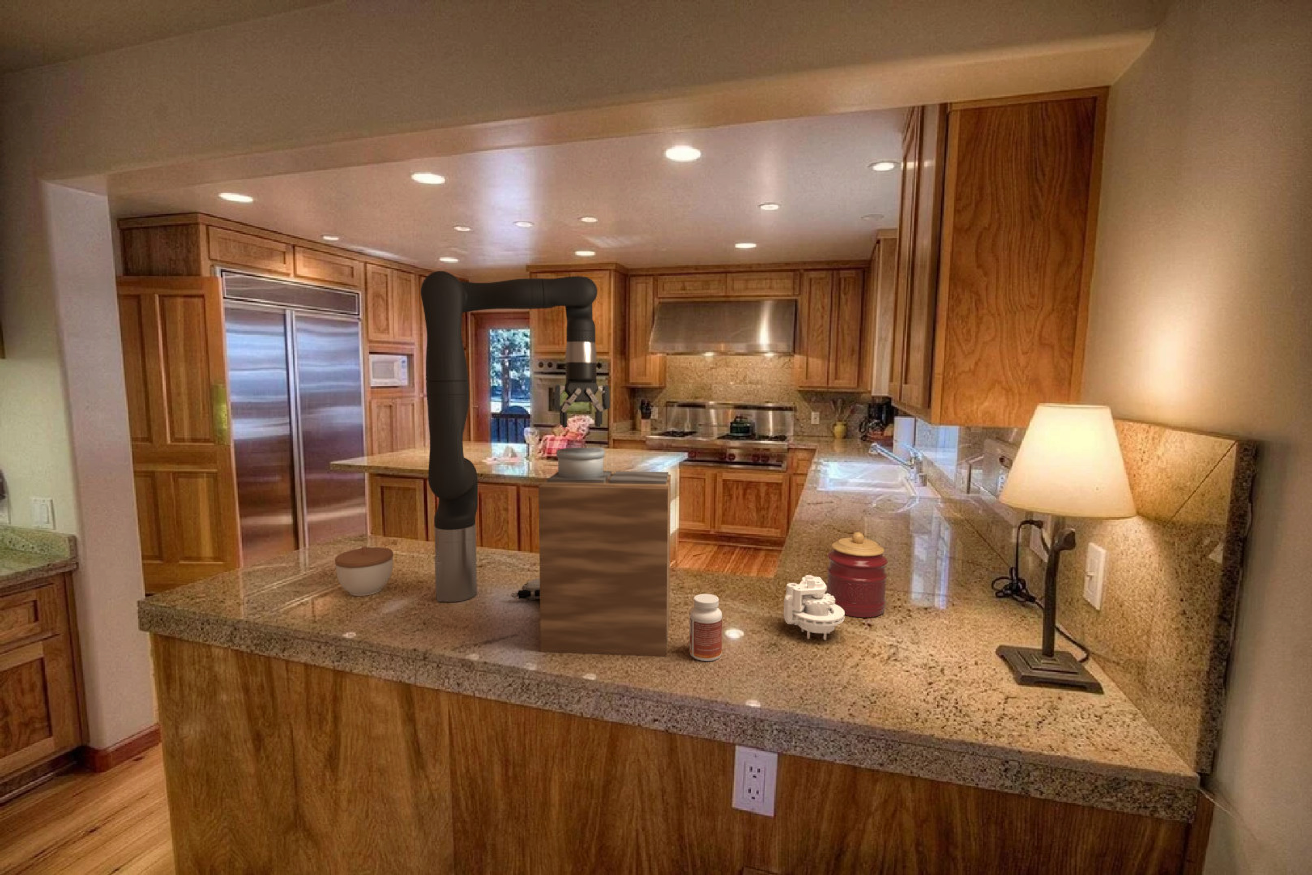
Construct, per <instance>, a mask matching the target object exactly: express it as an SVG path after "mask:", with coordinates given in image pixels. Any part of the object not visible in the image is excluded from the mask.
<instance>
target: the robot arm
mask: <svg viewBox="0 0 1312 875" xmlns="http://www.w3.org/2000/svg"><path fill="white" fill-rule="evenodd" d="M597 296H598V287H597V285H596V283H595V282H594V280H592V279H591V278H589V277H586V276H582V275H581V276H580V275H575V276H562V277H556V278H543V277H542V278H540V277H538V278H535V277H534V278H533V277H532V278H531V277H530V278H516V279H508V280H507V279H506V280H500V281H494V282H493V281H491V282H472V281H464V280H463V281H462V280H459V279H458V278H457V277H456V276H455V275H454V274H452V273H451V272H447V271H445V270H444V271H443V270H437V271H436V270H435V271H434V272H431V273H430V274H429V275H427V276H426V277H425V278H424V279H423V280H422V283H421V286H420V298H421V301H422V302H421V303H422V308H423V314H424V319H425V320H424V322H425V327H426V349H425V350H426V352H425V353H426V354H425V388H426V403H427V416H428V417H427V419H428V430H429V455H428V456H429V458H428V470H427V471H428V472H427V473H428V475H427V478H428V480H427V481H428V486H429V489H430V491H431V492H432V493H433V494H434V495H435V497H437V498H438V504H437V509H436V512H435V513H434V517H433V523H434V525H433V526H434V527H433V529H434V553H435V555H434V572H435V573H434V574H435V575H434V578H435V579H434V580H435V596H436V602H437V603H439V602H440V603H441V602H446V603H454V602H455V603H457V602H463V601H466V600H469V599H472V598H474V597H475V596H477V594H478V576H477V575H478V573H477V571H478V570H477V569H478V568H477V530H476V518H477V517H476V516H477V511H478V502H479V500H478V498H479V496H478V495H479V493H478V492H479V491H478V490H479V486H478V484H479V483H478V482H479V481H478V480H479V479H478V472H477V468H476V466H475V465H474V463H473V462H472V461H471V460H470V459H469V458H467V457H465V456H464V443H463V440H464V431H465V426H466V421H467V418H468V412H469V406H470V385H469V384H470V383H469V381H470V380H469V371H468V363H467V358H466V352H465V349H464V344H463V335H462V324H463V321H462V319H463V314H465V313H469V312H475V311H477V312H478V311H483V310H484V311H485V310H505V309H506V310H537V309H539V310H541V309H551V308H552V309H553V308H555V307H565V317H566V347H565V358H564V360H565V384H564V385H560V384H554V385H552V394H551V395H552V399H551V408H552V409H553V410H555V411H558V412H559V424H560V425H561V426H562V428H568V412H567V410H568V409H569V408H570V407H571V406H572V404H574V403H576V404H577V403H589V404H591V405H592V407H593V408H594V409H595V411H594V426H595V427H597V428H600V427H601V425H602V424H603V421H604V420H603V412H604V411H606V410H609V409H610V408H611V400H610V398H611V397H610V387H609V386H610V385H607V384H602V385H598V383H597V348H596V346H597V345H596V324H595V321H594V320H593V316H594V315H593V303H594V301H596V299H597ZM563 391H564V392H565V394H566V395H567V396H566V397H565V399H564V400H563V402H562V404H561V405H560V402H561V398H560V397H561V394H563ZM597 393H600V395H601V403H602V404H601V403H600V401H599V399H598V398H597V397H596V394H597Z"/></svg>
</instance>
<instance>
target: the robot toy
mask: <svg viewBox="0 0 1312 875" xmlns="http://www.w3.org/2000/svg"><path fill="white" fill-rule="evenodd" d="M510 596H511V598H515V599H516V598H517V597H518V600H521V599H523V600H524V599H529V601H530V600H532V601H533V600H534V601H535V600H540V578H535V579H532V580H530V581H527V582H526V583H525V584H524V583H523V584H522V587H521V589H519V590H518V592H517V591H515V592H512V593H511V595H510Z"/></svg>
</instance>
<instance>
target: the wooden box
mask: <svg viewBox="0 0 1312 875" xmlns="http://www.w3.org/2000/svg"><path fill="white" fill-rule="evenodd" d="M671 475H672V474H669V471H668V472H667V471H625V470H624V471H622V470H617V471H615V472H614V473H612V470H610V471H609V470H603V476H601V477H597V478H588V479H570V478H562V477H559V476H558V471H557V472H555V474H553V475H551V476H550V477H549V478H547V479H546V480H545V481H544V482H543V483H541V484H540V485H538V540H539V541H538V546H539V550H538V552H539V553H538V554H539V579H540V599H539V619H540V620H539V621H540V626H539V627H540V628H539V629H540V630H539V632H540V652H541V653H560V654H561V653H567V654H594V655H596V654H597V655H621V656H623V655H624V656H647V657H648V656H650V657H667V650H668V638H669V627H670V599H671V598H670V587H671V585H670V582H671V580H670V578H671V577H670V576H671V574H670V573H671V572H670V571H671V570H670V569H671V568H670V567H671V502H672V501H671V495H672V493H671V491H672V490H671V487H672V486H671V485H672V483H671V480H672V476H671Z"/></svg>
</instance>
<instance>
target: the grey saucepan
mask: <svg viewBox="0 0 1312 875" xmlns="http://www.w3.org/2000/svg"><path fill="white" fill-rule="evenodd" d="M605 453H606V451H605V449H604V448H603V447H598V446H597V447H592V446H591V447H589V446H588V447H568V448H567V447H566V448H560V449H556V458H557V470H558V471H557V472H558V476H559V477H562V478H570V479H588V478H597V477H601V476H603V471H604V458H605V457H606V456H605Z"/></svg>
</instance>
